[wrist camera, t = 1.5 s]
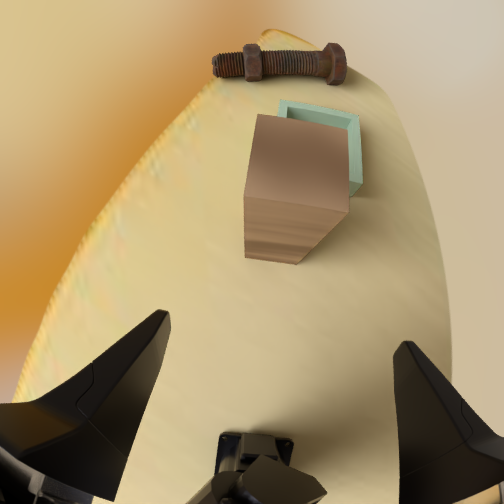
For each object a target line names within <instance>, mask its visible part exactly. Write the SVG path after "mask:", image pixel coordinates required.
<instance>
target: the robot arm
mask: <svg viewBox="0 0 504 504" xmlns="http://www.w3.org/2000/svg"><path fill="white" fill-rule="evenodd" d="M170 331H171V322H170V314H169V312H168V311H166V310H161V309H158V310H156V311H155V312H154V313H152V314H151V315H150V316H149V317H147V318H146V319H145V320H144V321H142V322H141V323H140V324H138V325H137V326H136V327H135V328H133V329H132V330H131V331H130V332H128V333H127V334H126V335H125V336H123V337H122V338H121V339H120V340H118V341H117V342H116V343H115V344H113V345H112V346H111V347H110V348H108V349H107V350H106V351H105V352H103V353H102V354H101V355H100V356H98V357H97V358H96V359H95V360H93V361H92V363H90V364H88V365H87V366H86V367H85V368H83V369H82V370H81V371H79V372H78V373H77V374H76V375H74V376H73V377H71V378H70V379H68V380H67V381H65V382H64V383H62V384H61V385H59V386H58V387H56V388H54V389H53V390H51V391H50V392H48V393H46V394H45V395H43V396H42V397H40V398H38V399H36V400H33V401H30V402H22V403H3V404H2V403H1V404H0V504H92V501H93V498H94V496H96V497H99V498H102V499H105V500H109V501H112V502H114V500H115V497H116V494H117V490H118V487H119V484H120V481H121V478H122V475H123V472H124V469H125V466H126V463H127V460H128V459H127V458H128V456H129V454H130V451H131V448H132V445H133V442H134V439H135V436H136V433H137V431H138V428H139V425H140V422H141V419H142V417H143V414H144V411H145V409H146V406H147V403H148V400H149V398H150V395H151V392H152V390H153V387H154V385H155V382H156V379H157V377H158V374H159V372H160V369H161V366H162V362H163V358H164V354H165V350H166V347H167V343H168V339H169V335H170ZM393 368H394V394H395V403H396V413H397V425H398V440H399V466H400V479H399V504H504V437H501V436H499V435H497V434H496V433H494V432H493V430H492V429H491V428H490V427H489V426H488V425H487V424H486V423H485V422H484V421H483V420H482V419H481V418H480V417H479V416H478V415H477V414H476V413H475V412H474V410H473V409H472V408H471V407H470V406H469V405H468V404H467V402H466V401H465V400H464V399H463V398H462V397H461V395H460V394H459V393H458V392H457V390H456V389H455V388H454V387H453V386H452V385H451V383H450V382H449V381H448V380H447V379H446V378H445V376H444V375H443V374H442V373H441V372H440V371H439V370H438V368H437V367H436V366H435V365H434V364H433V363H432V362H431V361H430V360H429V358H428V357H427V356H426V355H425V354H424V353H423V352H422V351H421V350H420V348H419V347H418V346H417V345H416V344H415V343H414V342H413V341H403V342H402V343H401V344H400V346H399V347H398V349H397V350H396V351H395V353H394V356H393ZM222 437H227V438H228V439H223V438H222ZM287 442H289V443H290V444H289V445H285V444H286V443H287ZM293 446H294V443H293V441H292V439H289V438H274V437H273V436H271V435H258V434H248V433H244V434H242V435H241V434H233V433H226V432H223V433H221V434H220V436H219V442H218V450H217V457H216V465H215V473H214V476H213V477H212V478H211V479H210V480H209V481H208V482H207V483H206V484H205V485H204V486H203V487H202V488H201V489H200V490H199V491H198V492H197V493H196V494H195V495H194V496H193V497H192V498H191V499H190V500H189V501H188V502H187V503H186V504H317V503H318V502H319V501H320V500H321V499H322V498H323V497H324V496H325V495H326V494H327V491H326V490H325V489H324V488H323V487H322V485H321V484H320V483H319V482H318V481H317V480H316V478H315V477H313V476H311V475H308V474H305V473H303V472H301V471H298V470H296V469H293V468H291V467H289V463H290V459H291V454H292V450H293Z"/></svg>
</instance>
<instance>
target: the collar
mask: <svg viewBox="0 0 504 504" xmlns="http://www.w3.org/2000/svg"><path fill="white" fill-rule="evenodd" d="M277 117H284V118H291V119H297V120H303V121H308V122H313V123H319V124H324V125H329V126H333V127H338V128H342V129H347V130H348V147H349V197H352V196H353V195H354V193H355V192H356V191H357V190H358V189H359V188H360V187H361V185H362V184H363V173H362V152H361V138H360V125H359V115H355V114H351V113H347V112H343V111H338V110H334V109H330V108H325V107H320V106H315V105H310V104H304V103H298V102H292V101H286V100H280V103H279V109H278V115H277Z"/></svg>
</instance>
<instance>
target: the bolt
mask: <svg viewBox="0 0 504 504" xmlns="http://www.w3.org/2000/svg"><path fill="white" fill-rule="evenodd" d="M212 65H213V74H214V75H215V76H216V77H217V78H218V77H220V78H221V77H224V76H225V77H227V76H228V77H230V76H231V77H232V76H234V77H235V76H236V75H237V76H239V75H240V76H241V75H243V76H244V75H245V80H246V81H247V82H253V81H260V80H261V79H262V74H263V75H264V74H266V75H267V74H269V75H270V74H272V75H273V74H275V75H276V73H277V74H278V75H279V73H280V75H281V74H283V75H284V74H286V75H287V74H289V75H290V74H292V75H293V74H295V75H296V74H297V75H299V74H300V75H302V74H303V75H310V74H311V75H314V76H323V77H325V80H326V82H327V85H339V84H342V83H343V81H344V79H345V76H346V72H347V62H346V56H345V52H344V50H343V49H342V47H341V46H340V45H339V44H337V43H328V44H327V45H326V47H325V48H324V50H323V51H299V50H298V51H297V50H295V51H294V50H292V51H291V50H289V51H288V50H286V51H285V50H284V51H282V50H281V51H279V50H278V51H276V50H275V51H273V50H272V51H270V50H269V52H268V51H267V50H266V52H265V51H263V52H262V51H261V49H260V46H258V45H257V44H246V45H245V46H244V47H243V52H237V53H235V52H234V53H228V54H227V53H225V54H223V53H222V54H220V53H219V55H216V56H214V57H213V58H212Z"/></svg>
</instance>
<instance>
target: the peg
mask: <svg viewBox="0 0 504 504" xmlns="http://www.w3.org/2000/svg"><path fill="white" fill-rule="evenodd" d="M348 213H349V147H348V130H347V129H342V128H338V127H333V126H329V125H324V124H319V123H313V122H308V121H303V120H297V119H291V118H284V117H277V116H270V115H262V114H257V120H256V125H255V131H254V137H253V143H252V149H251V155H250V160H249V166H248V172H247V178H246V185H245V191H244V244H245V258H251V259H258V260H265V261H273V262H280V263H287V264H295V265H296V264H297V263H298V262H299V261H300V260H301V259H302V258H303V257H305V256H306V255H307V254H308V253H309V252H310V251H311V250H312V249H313V248H314V247H315V246H316V245H317V244H318V243H319V242H320V241H321V240H322V239H323V238H324V237H325V236H326V235H327V234H328V233H329V232H330V231H331V230H332V229H333V228H334V227H335V226H336V225H337V224H338V223H339V222H340V221H341V220H342V219H343V218H344V217H345V216H346V215H347V214H348Z"/></svg>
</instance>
